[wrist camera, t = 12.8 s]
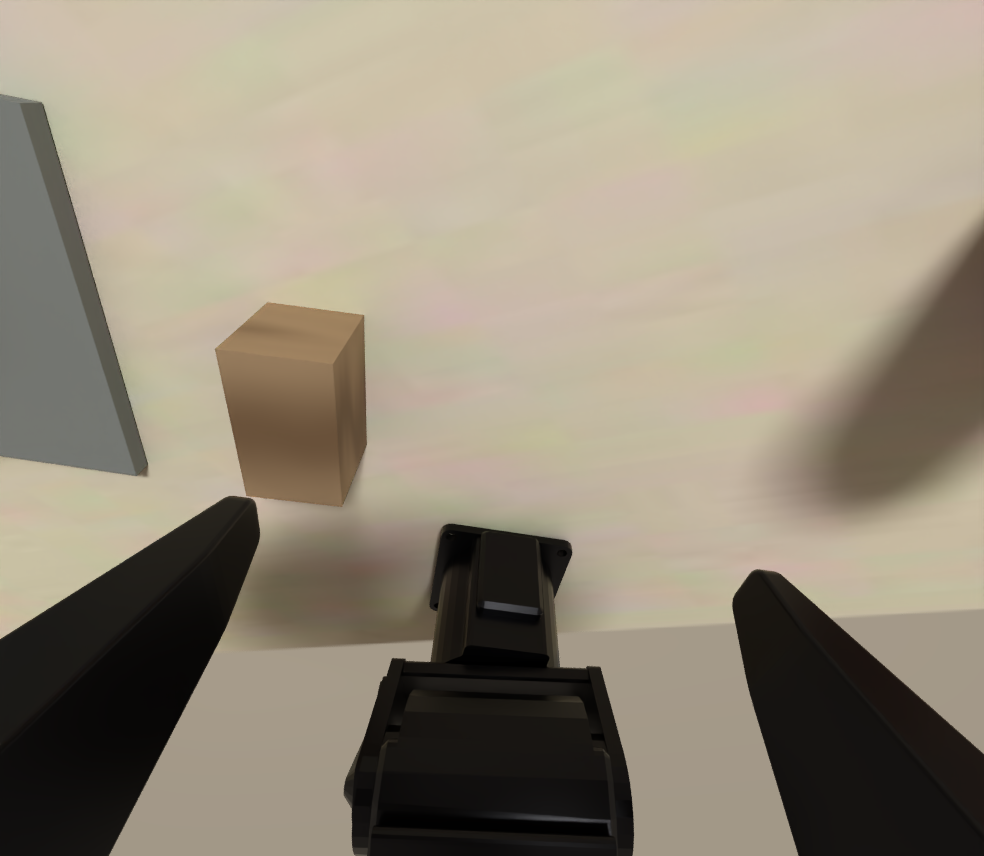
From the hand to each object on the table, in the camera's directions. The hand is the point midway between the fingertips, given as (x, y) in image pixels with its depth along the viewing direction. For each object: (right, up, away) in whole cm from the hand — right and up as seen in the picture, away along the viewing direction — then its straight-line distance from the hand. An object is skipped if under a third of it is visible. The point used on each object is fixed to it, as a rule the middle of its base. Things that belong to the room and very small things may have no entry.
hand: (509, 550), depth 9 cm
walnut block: (-7, +4, +11) cm, 14 cm away
